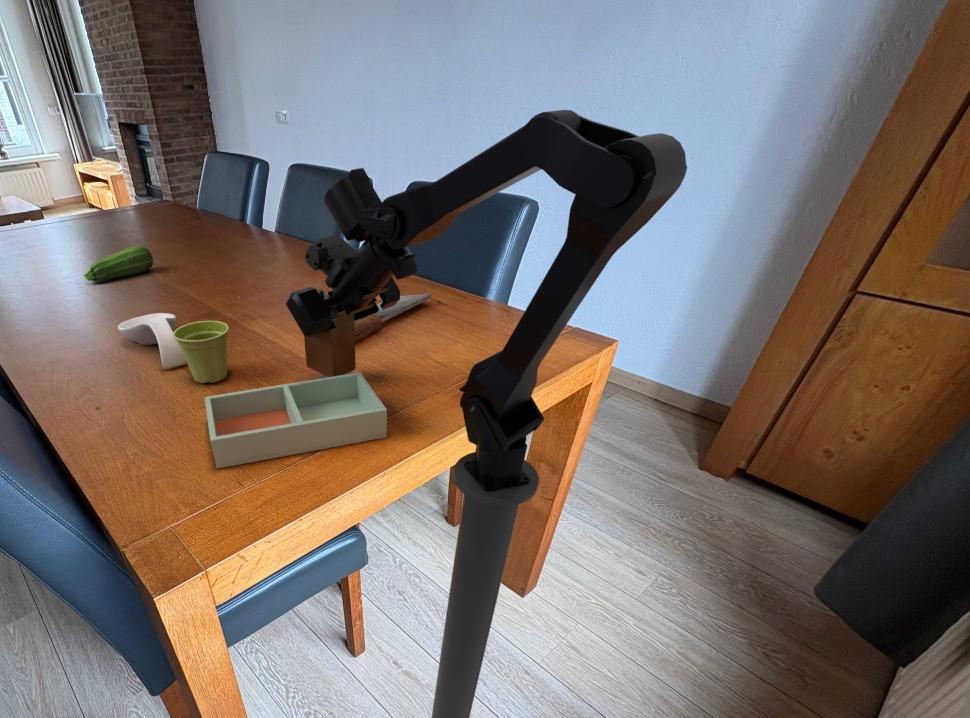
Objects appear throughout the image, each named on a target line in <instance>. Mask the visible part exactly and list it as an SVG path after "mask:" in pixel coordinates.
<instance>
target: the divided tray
mask: <svg viewBox="0 0 970 718" xmlns="http://www.w3.org/2000/svg"><path fill="white" fill-rule="evenodd" d="M204 403H205V410H206V419H207V424H208V432H209V433H208V434H209V439H210V440H209V441H210V444H211V449H212V454H213V458H214V462H215V466H216V469H222V468H223V469H224V468H227V467H234V466H240V465H244V464H250V463H255V462H256V463H257V462H261V461H266V460H272V459H277V458H282V457H289V456H291V455H292V456H293V455H299V454H305V453H309V452H315V451H320V450H324V449H330V448H336V447H341V446H347V445H353V444H357V443H363V442H368V441H374V440H378V439H380V440H381V439H384V438H387V429H388V426H387V425H388V423H387V422H388V409H387V408H386V406H385V405H384V403H383V402H382V401H381V399H380V397H378V395H377V393H376V392H375V391H374V389H373V388H372V387H371V385H370V384H369V383H368V381H367V379H366V378H365V377H364V376H363V374H362V372H360V371H359V372H353V373H347V374H344V375H340V376H333V377H328V376H326V377H321V378H316V379H309V380H303V381H296V382H290V383H283V384H278V385H271V386H265V387H257V388H252V389H246V390H239V391H234V392H233V391H232V392H228V393H221V394H214V395H209V396H204Z"/></svg>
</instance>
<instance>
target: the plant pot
mask: <svg viewBox="0 0 970 718" xmlns="http://www.w3.org/2000/svg"><path fill="white" fill-rule="evenodd" d="M229 331H230V327H229V325H228V324H227V323H226V322H223V321H220V320H219V321H218V320H201V321H195V322H189V323H186V324H183V325H181V326H179V327H178V328H176V329H174V330H173V337H174V339H176V340H177V342H178V344H179V346H180V347H181V348H182V350H183V353H184V355H185V358H186V360H187V363H186V364H187V366H188V368H189V371H190V373H191V376H192V378H193V380H194V381H195V382H197V383H199V384H205V383H212V384H214V383H217V382H220V381H222V380H224V379H225V378H227V376H228V373H229V372H228V355H227V353H228V351H227V341H228V332H229Z"/></svg>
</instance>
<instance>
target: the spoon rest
mask: <svg viewBox="0 0 970 718" xmlns="http://www.w3.org/2000/svg"><path fill="white" fill-rule="evenodd" d="M176 324H177V316H176V315H175V314H172V313H166V312H157V313H149V314H145V315H139V316H136V317H132V318H130V319H127V320H124V321H123V322H120V323H119V324H118V326H117V329H118V331H119V332H120V333H121V334H122V336H123V337H125V338H127V339H129V340H131V341H133V342H136V343H137V344H139V345H143V346H151V345H156V344H157V345H158V349H159V355H160V361H161V366H162V369H163V370H169V369H173V368H176V367H181V366H184V365H186V364H188V363H187V360H186V358H185V355H184V353H183V350H182V348H181V347H180V346H179V344H178V342H177V340H176V339H174V337H173V332H174V330H175V327H176Z"/></svg>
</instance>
